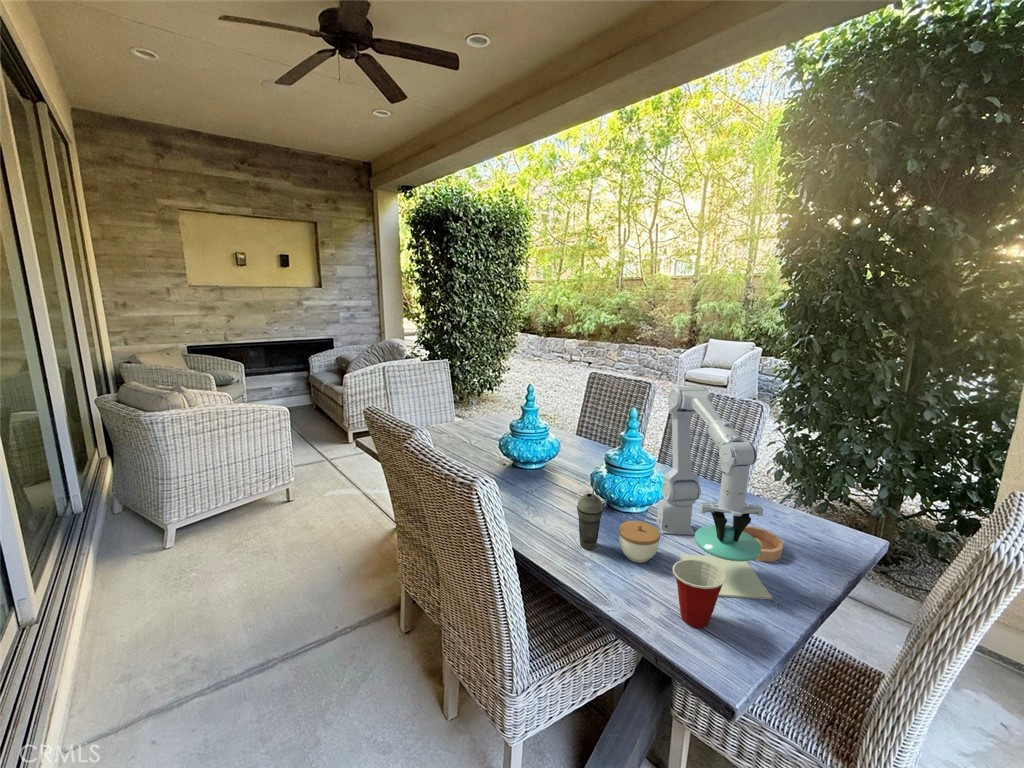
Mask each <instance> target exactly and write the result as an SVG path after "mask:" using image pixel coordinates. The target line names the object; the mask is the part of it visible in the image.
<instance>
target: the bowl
mask: <svg viewBox="0 0 1024 768" xmlns="http://www.w3.org/2000/svg"><path fill="white" fill-rule="evenodd" d="M743 532H745V533H747V534H749V535H751V536H752V537H754V538H755V539H756V540H757V541H758V542H759V544H760V546H761V552H760V555H759V556H758V557H757V558H756V559H754V560H755V561H758V562H767V563H768V562H770V563H773V562H775V561H779V560H781V559H782V555H783V548H784V542H783V540H781V539H780V537H779V536H778V535H776V534H775V533H773V532H771V531H769V530H767V529H763V528H760V527H757V526H753V525H752V526H750V525H749V526H748V525H747V526H746V527H745V529H744V530H743ZM754 560H753V561H754Z"/></svg>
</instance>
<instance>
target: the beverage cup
mask: <svg viewBox="0 0 1024 768" xmlns="http://www.w3.org/2000/svg"><path fill="white" fill-rule="evenodd" d="M595 489H596V480H594V481H593V484H592V491H591V493H585V494H583V495H582V496H581V497H580V498H579V499H578V502H577V505H576V510H577V516H578V535H579V546H580V547H581V549H584V550H587V551H594V550H595V549H596V548H597V543H598V539H599V538H598V537H599V531H600V526H601V525H600V524H601V518H602V515H603V512H604V506H603V503H602V500H601V498H600V497H599V496H598V495H596V494H595V491H596V490H595Z"/></svg>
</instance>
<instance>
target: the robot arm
mask: <svg viewBox="0 0 1024 768" xmlns="http://www.w3.org/2000/svg"><path fill="white" fill-rule="evenodd" d="M711 397H712V393H711V392H710V390H709V389H708V387H707V386H705V385H701V386H700V385H699V386H698V385H697V386H673V387H672V388H671V389H670V391H669V392H668V395H667V400H668V403H667V405H668V407H667V408H668V413H669V414H671V432H672V434H671V437H672V438H671V439H672V440H671V442H672V443H671V445H672V447H671V448H672V468H671V469H670V470H669V471H667V472H666V473H665V474H664V475H663V480H662V481H663V482H662V485H661V492H662V496H663V498H664V499H659V501H658V505H657V517H656V520H655V521H656V522H657V526H658V527H659V528H660V533H662V534H667V535H670V534H671V535H687V536H689V535H690V536H691V535H692V536H695V533H696V532H695V531H694V529H693V528H692V526H691V523H692V515H693V505H694V504H696V501H697V500H699V499H700V497H701V494H702V489H701V484H700V481H699V475H697V473H695V472H693V471H692V466H691V465H692V462H691V461H692V457H691V455H692V453H691V452H692V451H691V450H692V449H691V448H692V447H691V443H692V442H691V418H692V417H693V415H695V413H696V414H697V415H699V417H701V419H702V421H704V423H705V424H707V426H708V430H707V433H708V435H709V437H710V438H711V439H712V441H713V442H714V444H715V445H716V447H717V448H718V454H719V455H718V456H719V459H720V469H721V471H722V473H721V480H720V481H721V482H720V487H719V489H720V491H719V497H718V500H716V501H715V500H714V501H709V502H708V501H706V502H699V506H698V507H699V509H698V510H699V512H700V513H701V514H707V513H710V514H711V517H712V519H713V522H714V525H715V526H716V532H717V538H718V539H719V541H723V537H724V529H725V525H727V522H728V519H727V518H726V515H725V514H730V515H732V527H734V528H735V534H734V541H735V542H738V539H739V537H740V535H741V533H742V532H743V530H744V529H745V527H746V526H748V525H750V523H751V522H752V518H751V516H750V515H757V516H759V517H763V515H764V507H762V505H760V504H752V503H747V502H746V498H747V497H746V496H747V492H748V491H747V489H748V484H749V474H750V468H751V467H750V466H753V465H754V464H755V463H756V462H757V459H758V452H757V449H756V446H755V445H754V443H753V442H752V440H747V439H745V438H742V437H741V436H740V434H739V433H738V432H737V431H736V429H735V428H734V427H733V425H732V424H731V422H730V421H729V420H727V419H722V418H721V417H720V415H719V413H718V411H717V410H716V408H715V407H714V405H713V403H712V398H711Z"/></svg>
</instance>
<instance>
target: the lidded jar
mask: <svg viewBox="0 0 1024 768" xmlns="http://www.w3.org/2000/svg"><path fill="white" fill-rule="evenodd" d="M660 538H661V531H659V529H658V528H657V527H656V526H654V524H653V525H652V524H651V523H648V522H645V521H641V520H629V521H625V522H622V523H621V524H620V525H619V527H618V541H619V546H620V549H621V551H622V553H623V554H624V555H625V556H626V558H627V559H628V560H630V561H632V562H634V563H639V564H643V563H646V562H648V561H649V560H651V559H652V558H653V557H654V556H655V555H656V554H657V551H658V548H659V544H660Z"/></svg>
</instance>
